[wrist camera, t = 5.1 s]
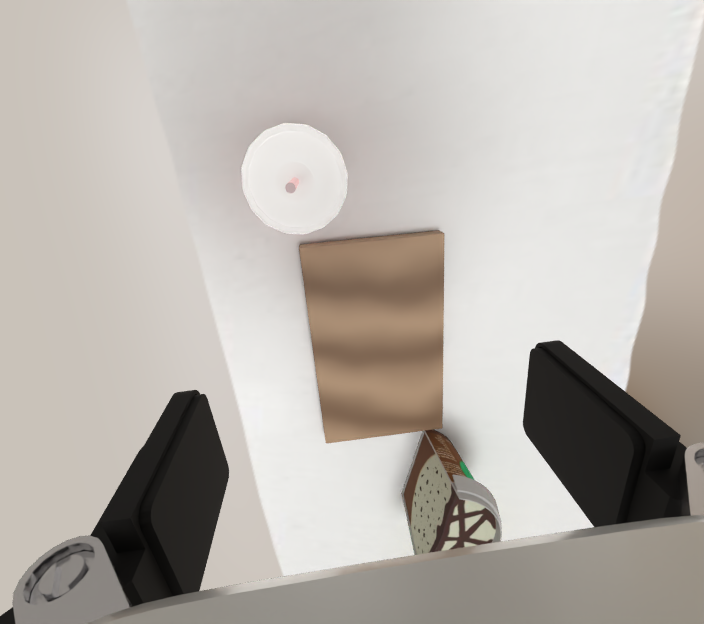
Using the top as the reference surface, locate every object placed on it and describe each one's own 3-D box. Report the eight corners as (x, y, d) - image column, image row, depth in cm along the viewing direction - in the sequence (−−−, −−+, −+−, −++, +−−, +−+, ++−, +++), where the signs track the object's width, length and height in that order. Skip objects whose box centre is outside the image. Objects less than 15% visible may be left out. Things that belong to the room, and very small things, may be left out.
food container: (447, 506, 46) (481, 595, 36) (398, 502, 45) (420, 592, 35) (480, 423, 41) (529, 499, 32) (427, 416, 40) (461, 493, 31)
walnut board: (299, 244, 32) (299, 248, 31) (438, 230, 33) (444, 233, 31) (325, 433, 40) (325, 443, 38) (437, 418, 40) (442, 428, 39)
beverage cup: (332, 127, 29) (347, 102, 16) (343, 208, 31) (365, 244, 18) (252, 138, 29) (203, 122, 16) (270, 219, 31) (239, 263, 18)
